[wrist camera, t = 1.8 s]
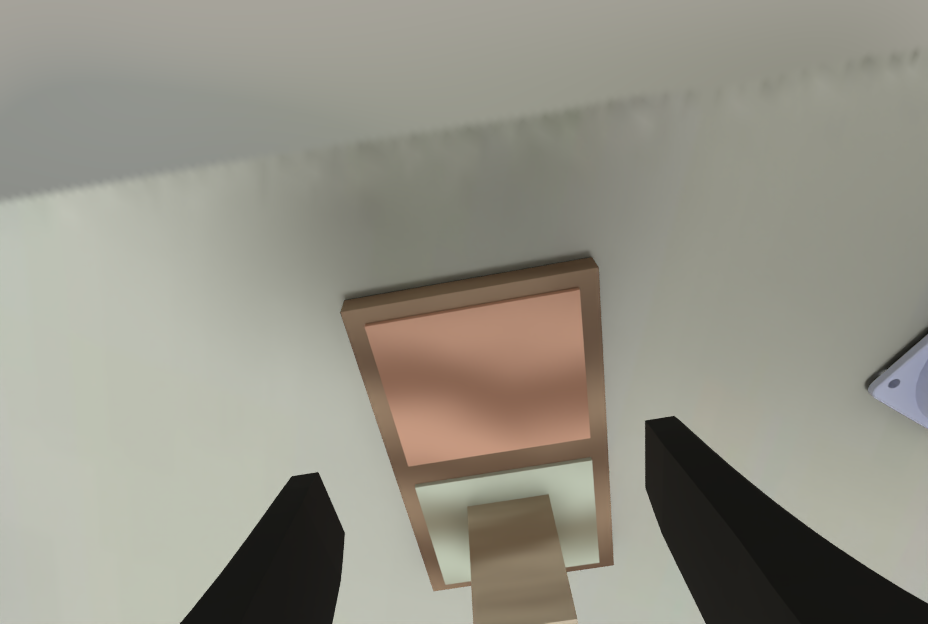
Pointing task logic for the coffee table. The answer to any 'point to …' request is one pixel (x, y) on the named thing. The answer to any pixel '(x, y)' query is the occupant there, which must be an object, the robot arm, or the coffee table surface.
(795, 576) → the robot arm
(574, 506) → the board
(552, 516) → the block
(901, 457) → the coffee table surface
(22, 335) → the coffee table surface
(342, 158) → the coffee table surface
